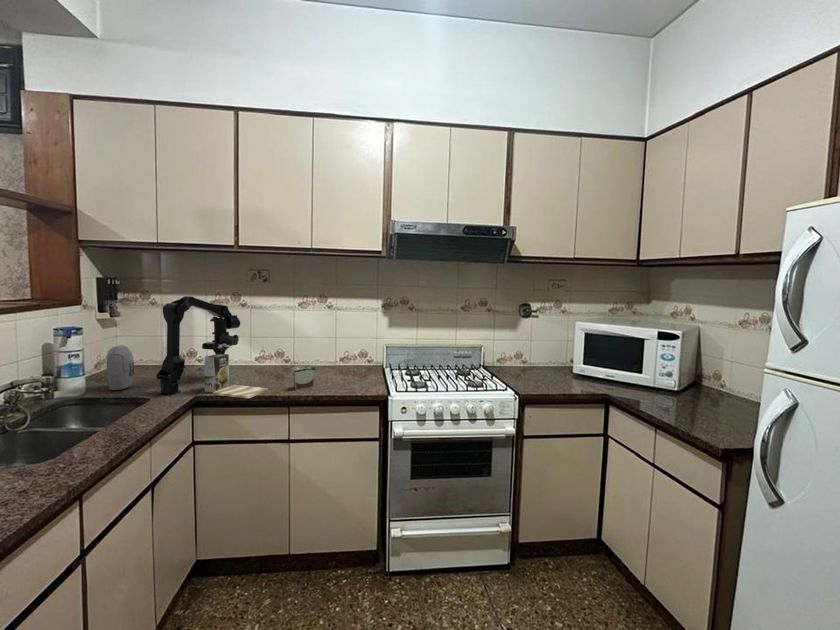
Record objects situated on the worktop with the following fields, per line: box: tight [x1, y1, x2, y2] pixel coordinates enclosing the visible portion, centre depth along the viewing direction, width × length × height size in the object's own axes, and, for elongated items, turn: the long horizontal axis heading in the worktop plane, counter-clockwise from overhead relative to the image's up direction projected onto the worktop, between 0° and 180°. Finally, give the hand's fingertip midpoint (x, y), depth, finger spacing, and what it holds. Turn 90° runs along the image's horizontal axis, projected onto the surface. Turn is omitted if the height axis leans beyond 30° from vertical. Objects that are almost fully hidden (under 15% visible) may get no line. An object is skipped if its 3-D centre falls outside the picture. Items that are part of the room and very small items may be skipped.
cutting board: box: [212, 384, 269, 400], centre depth 191 cm, size 18×14×1 cm
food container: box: [291, 364, 317, 391], centre depth 203 cm, size 12×6×10 cm, turn 134°
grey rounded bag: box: [105, 344, 135, 391], centre depth 192 cm, size 15×8×20 cm, turn 15°
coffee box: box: [204, 353, 230, 393], centre depth 194 cm, size 9×6×16 cm
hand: (220, 360), depth 212 cm, fingers closed
